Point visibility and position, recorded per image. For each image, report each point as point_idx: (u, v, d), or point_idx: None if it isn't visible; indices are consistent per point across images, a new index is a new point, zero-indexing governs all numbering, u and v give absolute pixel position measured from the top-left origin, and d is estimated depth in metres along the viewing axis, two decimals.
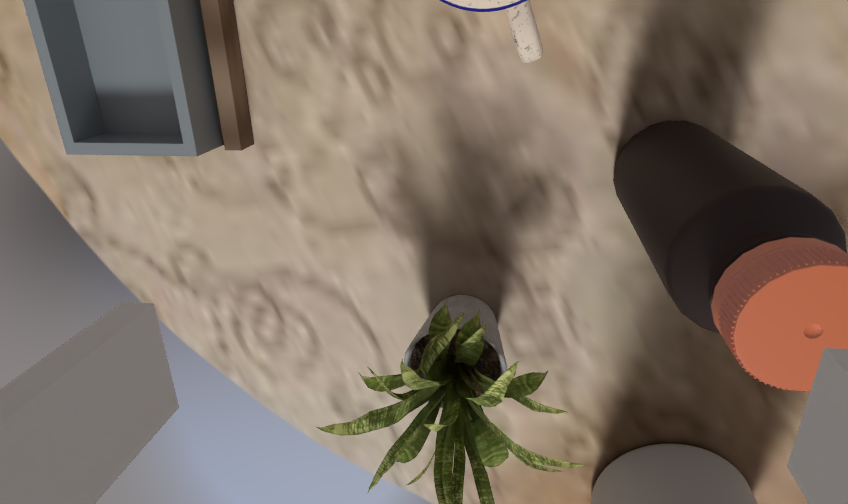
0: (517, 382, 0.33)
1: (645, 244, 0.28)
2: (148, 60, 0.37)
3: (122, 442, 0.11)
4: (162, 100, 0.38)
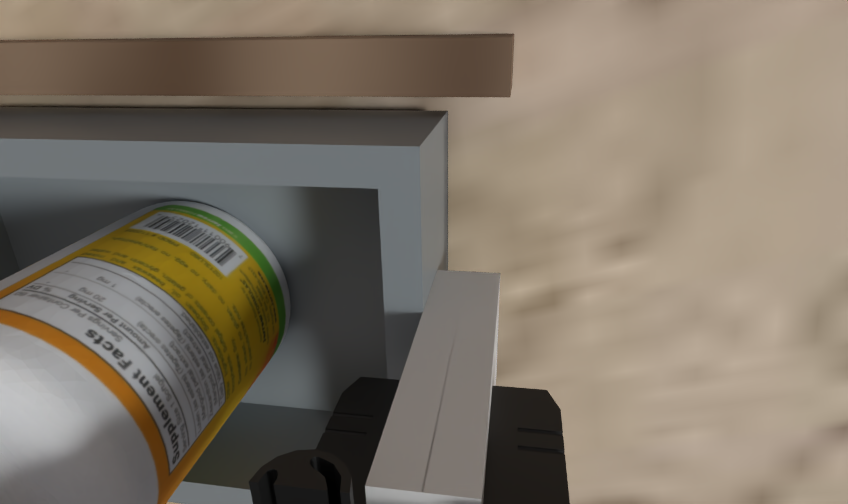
0: None
1: None
2: None
3: None
4: (327, 262, 0.15)
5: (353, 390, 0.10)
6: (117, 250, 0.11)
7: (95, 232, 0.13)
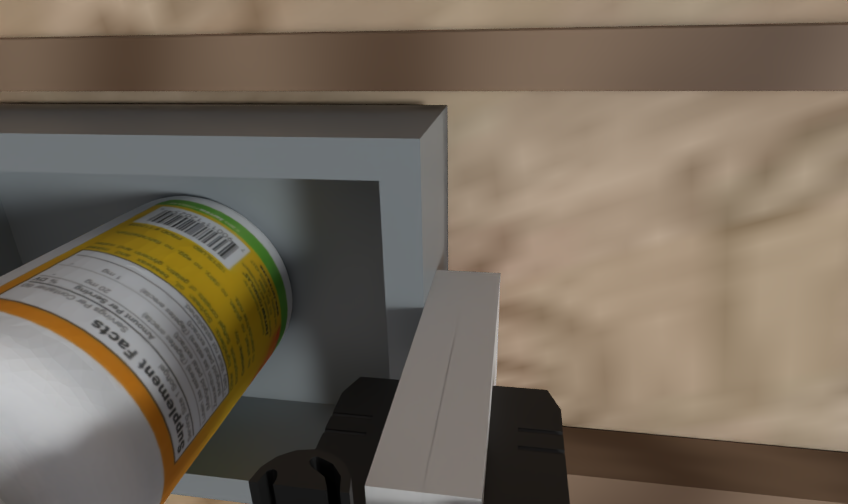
0: None
1: None
2: None
3: None
4: (329, 257, 0.15)
5: (353, 390, 0.10)
6: (121, 243, 0.11)
7: (99, 226, 0.13)
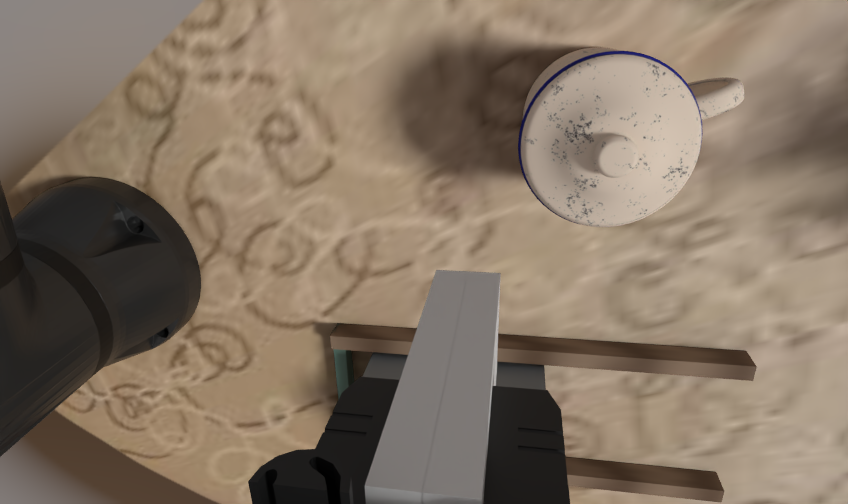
0: None
1: None
2: None
3: None
4: None
5: (353, 390, 0.10)
6: None
7: None
